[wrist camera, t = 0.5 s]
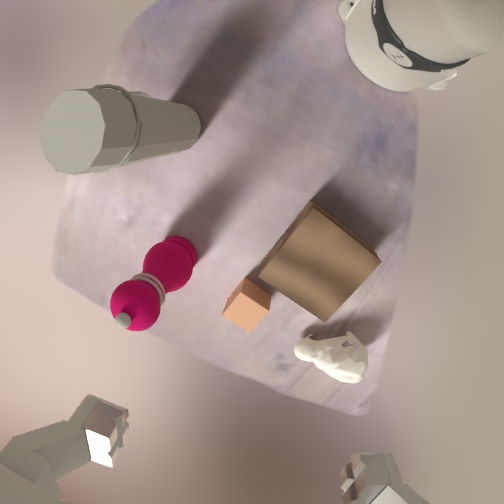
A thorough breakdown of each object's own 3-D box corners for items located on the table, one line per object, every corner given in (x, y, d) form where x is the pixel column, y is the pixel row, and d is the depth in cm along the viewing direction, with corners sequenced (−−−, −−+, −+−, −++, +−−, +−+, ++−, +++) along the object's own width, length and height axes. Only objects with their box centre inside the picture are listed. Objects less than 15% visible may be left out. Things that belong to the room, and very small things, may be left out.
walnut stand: (310, 199, 44) (313, 207, 40) (373, 248, 46) (381, 261, 41) (261, 262, 49) (257, 276, 44) (322, 304, 50) (324, 322, 45)
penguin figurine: (361, 393, 45) (287, 382, 47) (358, 360, 53) (293, 350, 55) (373, 363, 43) (294, 352, 45) (368, 331, 51) (299, 321, 53)
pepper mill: (198, 233, 48) (144, 298, 30) (201, 277, 51) (155, 356, 32) (154, 232, 49) (84, 291, 30) (159, 274, 51) (99, 346, 33)
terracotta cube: (245, 276, 50) (240, 292, 45) (271, 294, 50) (269, 311, 46) (227, 298, 52) (221, 315, 47) (253, 315, 52) (249, 332, 48)
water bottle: (214, 133, 42) (130, 141, 19) (170, 163, 45) (60, 202, 21) (182, 82, 40) (76, 46, 17) (139, 113, 42) (16, 113, 19)
